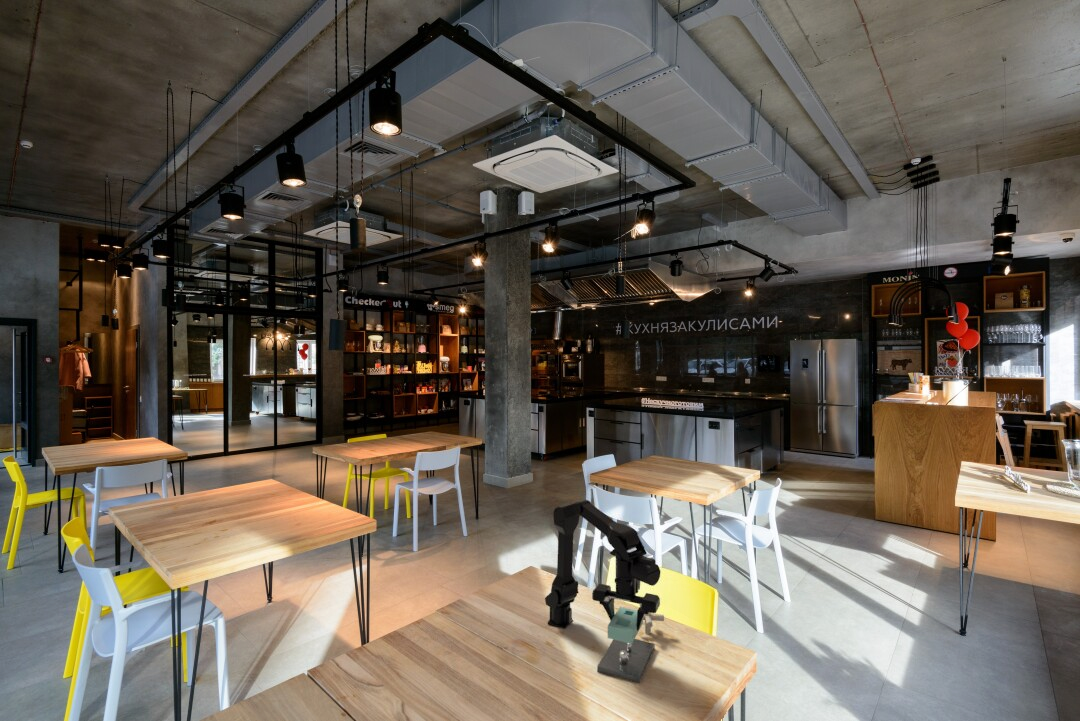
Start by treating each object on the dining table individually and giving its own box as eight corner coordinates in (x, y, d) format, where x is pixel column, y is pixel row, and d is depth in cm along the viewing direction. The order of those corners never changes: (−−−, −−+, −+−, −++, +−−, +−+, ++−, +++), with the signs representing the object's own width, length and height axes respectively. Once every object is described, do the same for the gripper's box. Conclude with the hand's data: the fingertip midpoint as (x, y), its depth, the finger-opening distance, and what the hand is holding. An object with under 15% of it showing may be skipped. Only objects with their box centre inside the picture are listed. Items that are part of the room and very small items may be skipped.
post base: (597, 671, 143) (597, 657, 142) (616, 639, 159) (616, 626, 159) (639, 683, 137) (639, 668, 137) (654, 648, 154) (654, 635, 154)
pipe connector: (661, 625, 167) (661, 594, 167) (666, 642, 157) (665, 609, 157) (630, 623, 168) (630, 593, 168) (633, 640, 158) (633, 608, 158)
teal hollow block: (631, 644, 140) (631, 631, 140) (607, 638, 143) (607, 625, 143) (642, 623, 151) (642, 611, 151) (620, 618, 154) (620, 606, 154)
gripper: (664, 568, 150) (664, 621, 150) (603, 557, 158) (603, 607, 158) (655, 583, 140) (655, 640, 140) (591, 571, 148) (591, 624, 148)
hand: (625, 627), depth 147 cm, fingers closed on teal hollow block, 7 cm apart
